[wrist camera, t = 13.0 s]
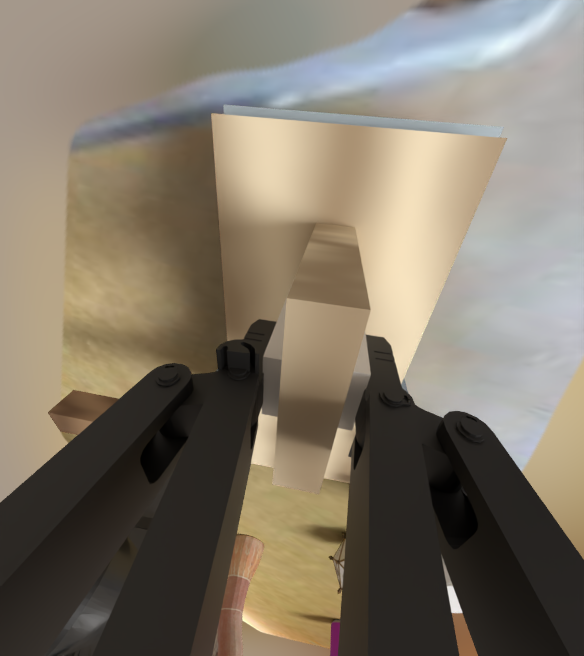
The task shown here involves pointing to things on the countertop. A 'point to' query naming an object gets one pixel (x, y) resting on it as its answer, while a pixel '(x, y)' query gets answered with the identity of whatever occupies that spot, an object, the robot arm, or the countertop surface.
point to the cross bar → (79, 411)
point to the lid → (336, 259)
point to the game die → (339, 562)
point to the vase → (237, 595)
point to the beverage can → (335, 637)
